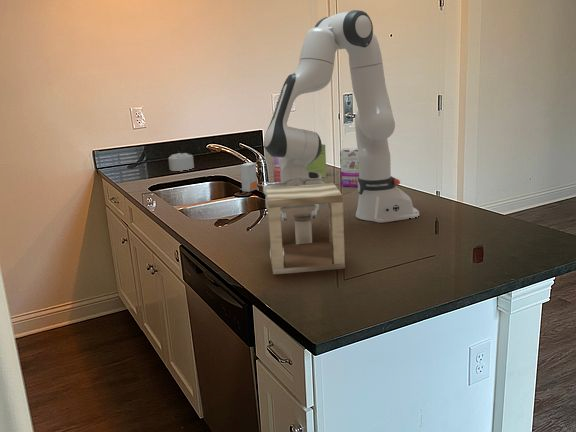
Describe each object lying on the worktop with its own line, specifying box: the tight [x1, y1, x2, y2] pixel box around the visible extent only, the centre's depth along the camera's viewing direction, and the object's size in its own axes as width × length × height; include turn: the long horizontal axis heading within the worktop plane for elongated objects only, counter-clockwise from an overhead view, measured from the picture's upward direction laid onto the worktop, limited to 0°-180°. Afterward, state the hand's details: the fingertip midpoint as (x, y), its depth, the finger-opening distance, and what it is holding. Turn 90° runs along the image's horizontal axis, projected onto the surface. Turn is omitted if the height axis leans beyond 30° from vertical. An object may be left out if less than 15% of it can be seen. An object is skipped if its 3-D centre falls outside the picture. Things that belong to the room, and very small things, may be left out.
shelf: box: [265, 182, 346, 275], centre depth 167 cm, size 17×20×21 cm
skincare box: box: [240, 162, 258, 193], centre depth 260 cm, size 6×4×12 cm
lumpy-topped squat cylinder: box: [168, 152, 195, 172], centre depth 318 cm, size 10×13×9 cm
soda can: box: [273, 164, 281, 183], centre depth 248 cm, size 7×7×13 cm
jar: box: [293, 212, 313, 244], centre depth 171 cm, size 5×5×12 cm
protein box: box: [306, 144, 327, 178], centre depth 278 cm, size 10×15×16 cm
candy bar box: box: [339, 148, 359, 188], centre depth 256 cm, size 11×5×16 cm, turn 68°
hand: (299, 218), depth 182 cm, fingers open, 8 cm apart
